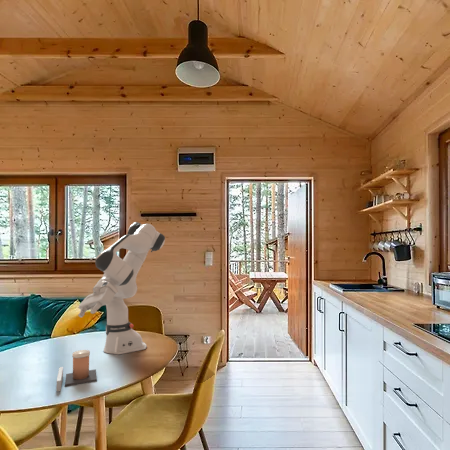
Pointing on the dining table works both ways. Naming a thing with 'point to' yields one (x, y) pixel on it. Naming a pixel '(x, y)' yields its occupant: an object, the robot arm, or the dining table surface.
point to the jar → (80, 364)
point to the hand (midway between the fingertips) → (86, 314)
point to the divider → (59, 379)
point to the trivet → (71, 381)
